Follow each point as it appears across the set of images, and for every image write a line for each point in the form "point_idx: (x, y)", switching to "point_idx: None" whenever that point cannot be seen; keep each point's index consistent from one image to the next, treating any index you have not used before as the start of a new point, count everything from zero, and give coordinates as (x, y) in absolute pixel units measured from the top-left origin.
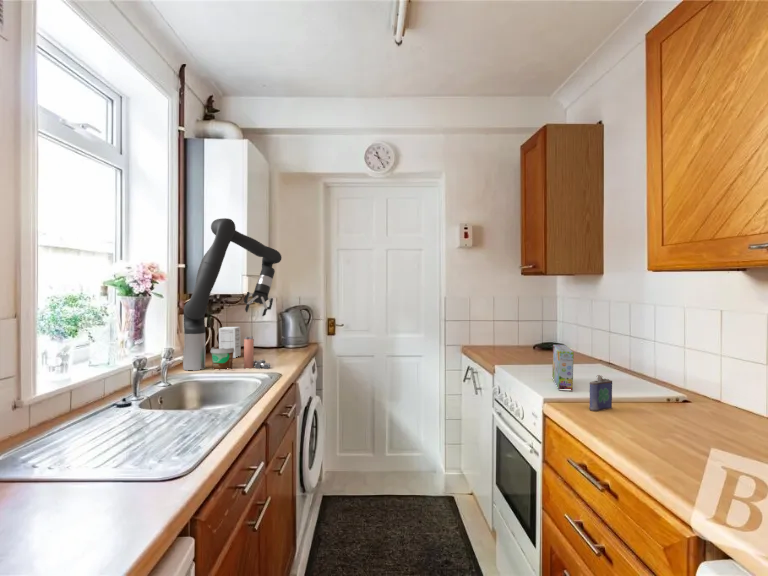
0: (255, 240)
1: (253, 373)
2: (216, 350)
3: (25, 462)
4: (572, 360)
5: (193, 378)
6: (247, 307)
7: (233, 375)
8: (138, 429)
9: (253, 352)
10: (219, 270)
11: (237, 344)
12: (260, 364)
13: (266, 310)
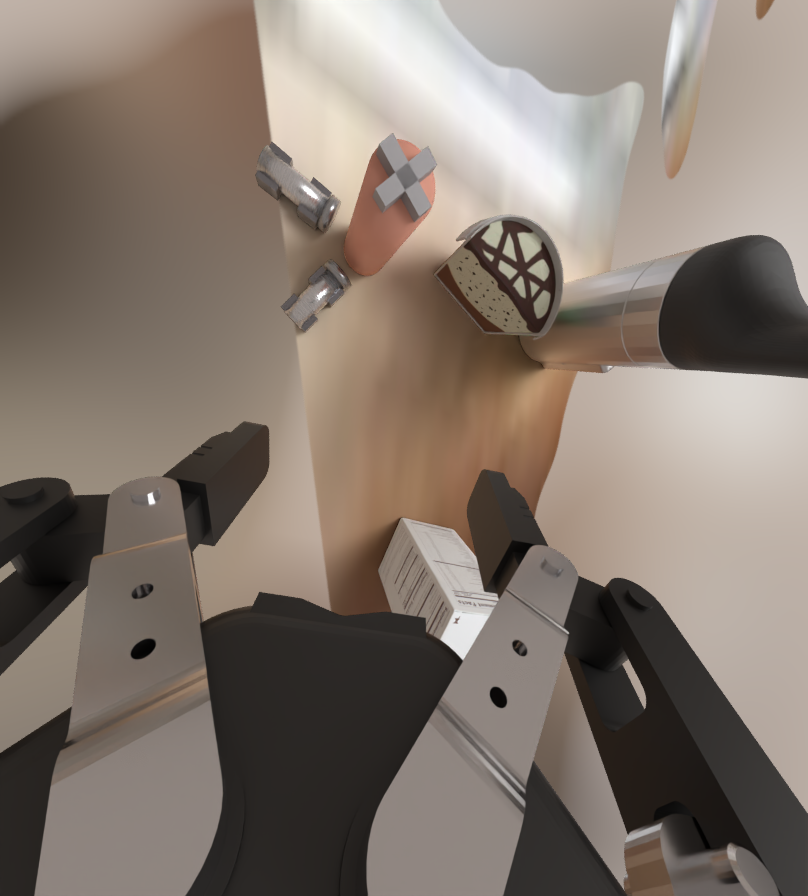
0: None
1: (352, 51)
2: (545, 235)
3: None
4: None
5: (579, 106)
6: (512, 503)
7: (443, 63)
8: None
9: (353, 214)
10: None
11: (407, 568)
12: (311, 182)
13: (166, 476)
